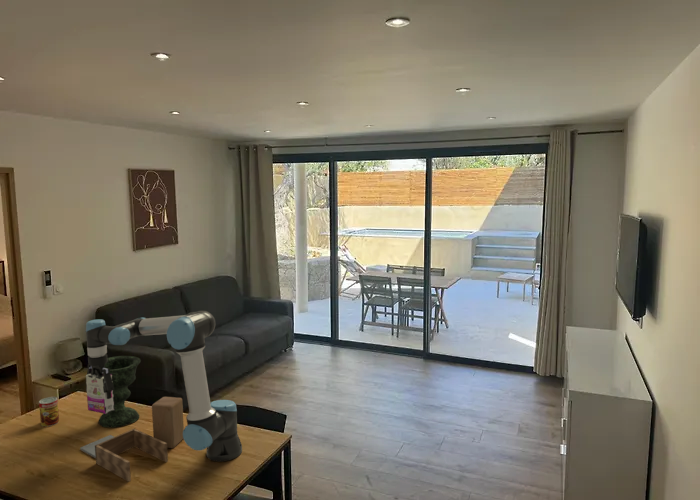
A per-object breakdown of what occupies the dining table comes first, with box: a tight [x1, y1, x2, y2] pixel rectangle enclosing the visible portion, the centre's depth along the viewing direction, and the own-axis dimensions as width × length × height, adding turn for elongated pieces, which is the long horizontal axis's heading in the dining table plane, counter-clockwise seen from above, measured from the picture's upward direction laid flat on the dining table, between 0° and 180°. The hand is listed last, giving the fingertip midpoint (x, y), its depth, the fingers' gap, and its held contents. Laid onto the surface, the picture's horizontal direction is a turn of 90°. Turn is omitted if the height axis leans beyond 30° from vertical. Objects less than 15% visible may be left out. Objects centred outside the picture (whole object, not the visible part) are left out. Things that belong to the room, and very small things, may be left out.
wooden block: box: [151, 396, 185, 449], centre depth 221 cm, size 10×10×20 cm
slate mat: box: [79, 434, 115, 459], centre depth 218 cm, size 14×14×1 cm
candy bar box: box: [85, 373, 114, 414], centre depth 216 cm, size 11×5×16 cm, turn 68°
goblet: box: [98, 355, 142, 428], centre depth 244 cm, size 22×22×30 cm
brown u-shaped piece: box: [95, 428, 169, 482], centre depth 206 cm, size 24×18×8 cm
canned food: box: [38, 396, 60, 428], centre depth 242 cm, size 8×8×12 cm
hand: (100, 402), depth 216 cm, fingers closed on candy bar box, 12 cm apart
